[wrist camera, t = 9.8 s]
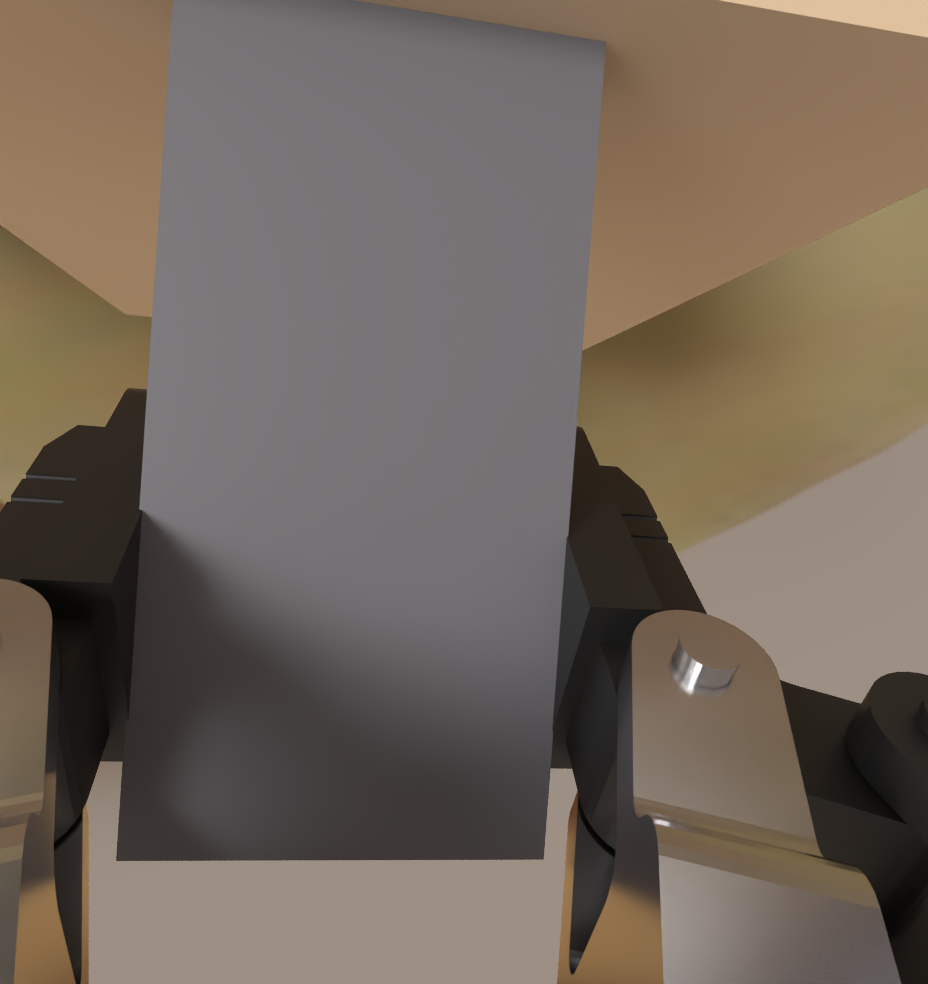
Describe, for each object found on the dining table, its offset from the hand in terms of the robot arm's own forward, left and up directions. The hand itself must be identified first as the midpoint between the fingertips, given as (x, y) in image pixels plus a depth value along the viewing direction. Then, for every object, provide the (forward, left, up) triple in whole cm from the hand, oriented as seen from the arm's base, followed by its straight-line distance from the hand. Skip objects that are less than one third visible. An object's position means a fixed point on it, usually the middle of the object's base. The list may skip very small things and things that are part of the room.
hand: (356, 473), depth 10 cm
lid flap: (-1, 0, -8) cm, 8 cm away
